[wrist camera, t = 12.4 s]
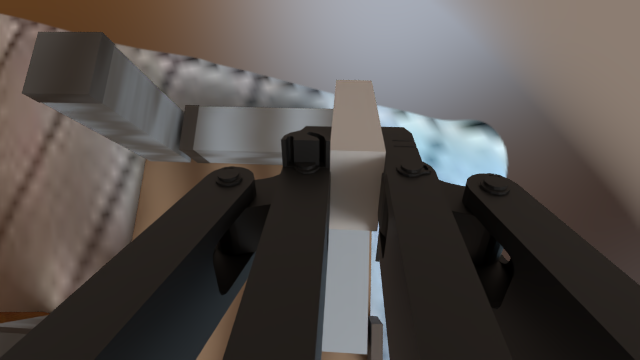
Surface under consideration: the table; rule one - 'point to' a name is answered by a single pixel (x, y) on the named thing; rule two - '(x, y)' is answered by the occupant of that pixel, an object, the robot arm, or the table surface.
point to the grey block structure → (164, 144)
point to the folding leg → (346, 292)
